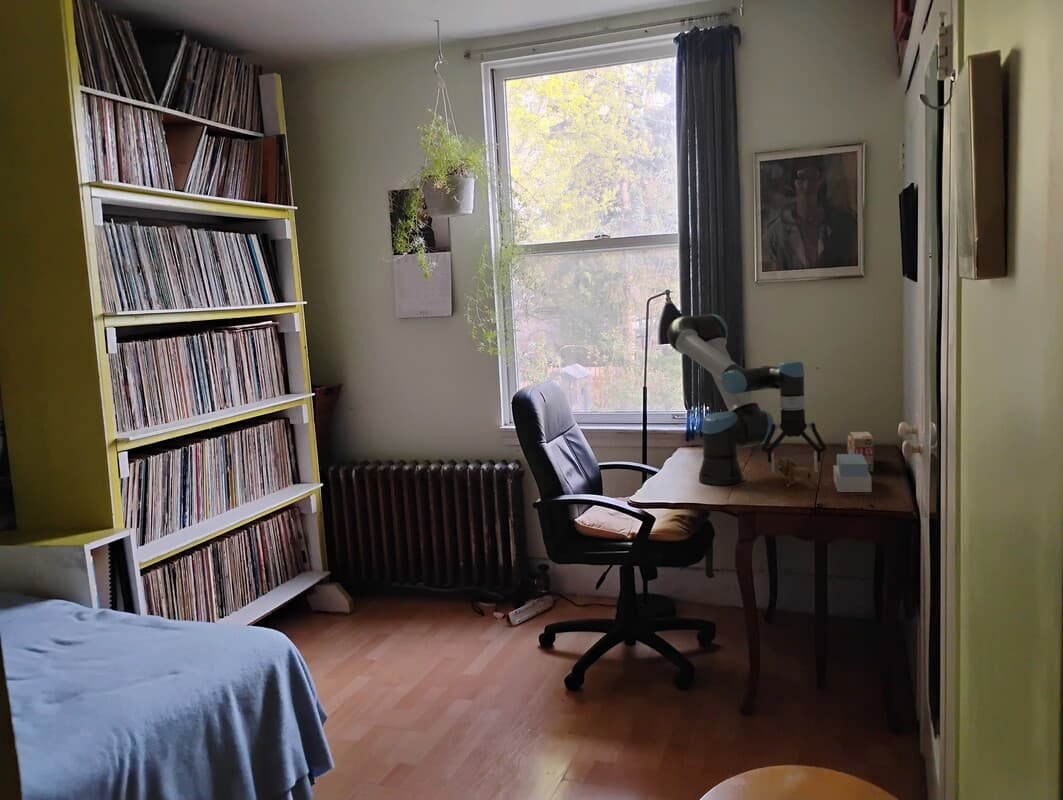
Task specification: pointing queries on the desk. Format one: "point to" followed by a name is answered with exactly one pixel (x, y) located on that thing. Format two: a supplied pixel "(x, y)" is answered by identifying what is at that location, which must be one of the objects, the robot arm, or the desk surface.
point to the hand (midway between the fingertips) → (794, 472)
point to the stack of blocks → (862, 446)
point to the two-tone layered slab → (851, 473)
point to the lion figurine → (795, 472)
